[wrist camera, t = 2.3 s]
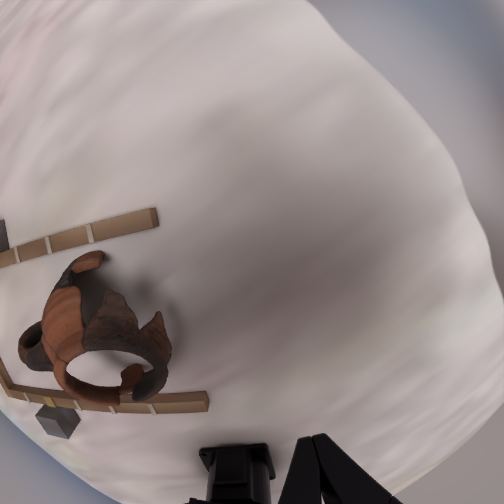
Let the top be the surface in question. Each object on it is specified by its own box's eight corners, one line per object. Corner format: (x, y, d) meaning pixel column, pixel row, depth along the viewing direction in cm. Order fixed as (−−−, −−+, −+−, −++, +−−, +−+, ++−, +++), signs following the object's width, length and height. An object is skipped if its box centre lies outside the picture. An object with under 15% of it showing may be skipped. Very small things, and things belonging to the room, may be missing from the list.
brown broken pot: (133, 221, 18) (140, 304, 12) (177, 313, 24) (202, 393, 18) (6, 280, 16) (-21, 364, 9) (66, 352, 21) (67, 430, 15)
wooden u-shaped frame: (217, 423, 21) (214, 450, 18) (23, 409, 21) (11, 423, 18) (148, 166, 17) (128, 161, 14) (-42, 242, 17) (-61, 248, 14)
